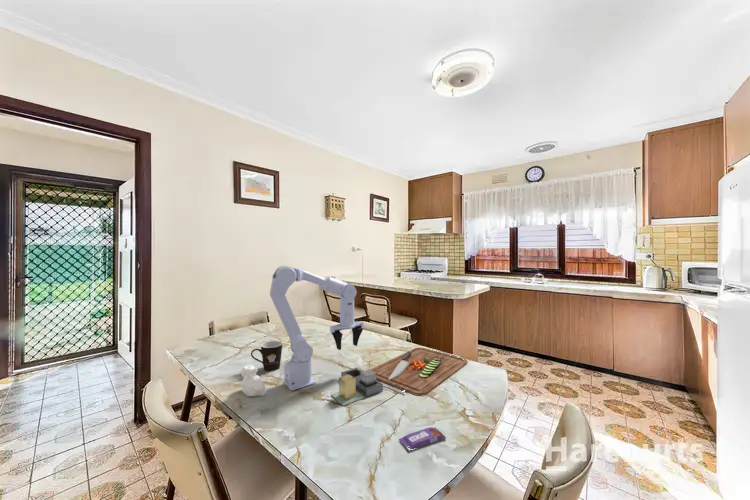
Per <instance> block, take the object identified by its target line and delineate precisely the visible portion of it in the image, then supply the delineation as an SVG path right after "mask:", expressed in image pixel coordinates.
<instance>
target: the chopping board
mask: <svg viewBox="0 0 750 500" xmlns="http://www.w3.org/2000/svg"><path fill="white" fill-rule="evenodd" d="M430 349H432V350H430ZM433 350H436V351H433ZM437 351H438V352H437ZM441 352H442V353H441ZM450 355H451V356H450ZM457 357H459V358H457ZM463 359H464V360H463ZM467 364H468V360H467V359H466V358H465V357H464V358H463V357H461V356H460V355H456V354H452V353H450V352H449V353H448V352H446V351H442V350H437V349H435V348H425V347H415V348H413V349H411V350H408V351H406V352H404V353H402V354H400V355H398V356H395V357H393V358H392V359H389V360H388V361H385V362H382V363H381V364H379V365H377V366H374V367H372V368H370V370H371V371H373V372H375V373H376V380H377V381H379V382H381V383H382V382H383V383H382V384H383V388H387V389H389V390H391V391H394V392H396V393H398V394H401V395H403V396H405V395H406V392H407V393H409V394H412V395H415V396H426V395H427V394H429V393H431V391H433V390H435V389H436V388H438V386H439V385H441V384H442V383H444V382H445V381H446V380H448V379H449V378H450V377H452V376H453V375H454V374H456V373H457V372H459V371H460V370H461V369H462V368H464V367H465V366H467ZM386 384H387V385H386ZM389 385H390V386H389ZM391 386H392V387H391ZM394 387H395V388H394Z"/></svg>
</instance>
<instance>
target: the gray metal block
mask: <svg viewBox="0 0 750 500" xmlns="http://www.w3.org/2000/svg"><path fill="white" fill-rule="evenodd" d="M370 369H371V368H370ZM370 369H366V370H362V371H363V372H360V383H361V384H362V385H364V386H365V387H369V386H372V385H374V384H376V373H375V372H373V371H371V370H370Z"/></svg>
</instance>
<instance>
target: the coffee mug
mask: <svg viewBox="0 0 750 500" xmlns="http://www.w3.org/2000/svg"><path fill="white" fill-rule="evenodd" d="M255 351H258V352H260V354H261V359H262V360H261V359H258V358H257V357H255V356H253V355H254V354H253V353H254V352H255ZM282 352H283V341H280V340H271V341H266V342H263V343H261V344H260V348H254V349H253V350H251V353H250V356H251V358H252V359H253V360H255V361H257V362H258V363H259V362H260V363H261V364H262V367H263V371H265V372H274V371H277V370H279V369H280V368H281V361H282Z"/></svg>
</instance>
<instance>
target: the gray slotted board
mask: <svg viewBox="0 0 750 500" xmlns="http://www.w3.org/2000/svg"><path fill="white" fill-rule="evenodd" d="M363 371H364V370H362V369H360V368H359V367H354V368H351V369H348V370H347V369H346V370H345V371H341V372H340V377H342V376H345V375H348V374H349V375H351V376H353V377H354V378H356V391H357V392H358V393H359V394H361V395H362V396H364V397H365V398H368V397H371V396H373V395H377V394H378V393H381V392H383V391H384V386H383V384H384V383H382V381H379V380H376V384H374V385H372V386H369V387H365V386H364V385H362V384H361V383H360V372H363Z"/></svg>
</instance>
